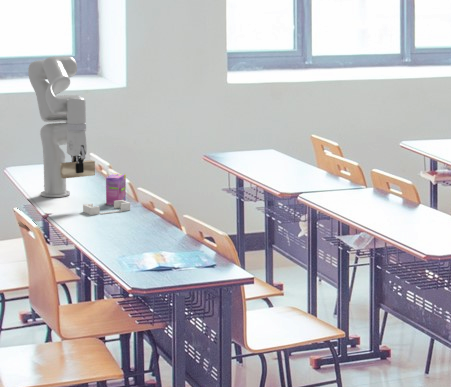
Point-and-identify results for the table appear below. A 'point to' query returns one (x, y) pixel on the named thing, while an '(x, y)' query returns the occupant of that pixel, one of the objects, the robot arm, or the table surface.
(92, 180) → the table surface
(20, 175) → the table surface
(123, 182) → the box
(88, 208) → the endcaps
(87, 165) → the slat
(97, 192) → the table surface
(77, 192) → the table surface
